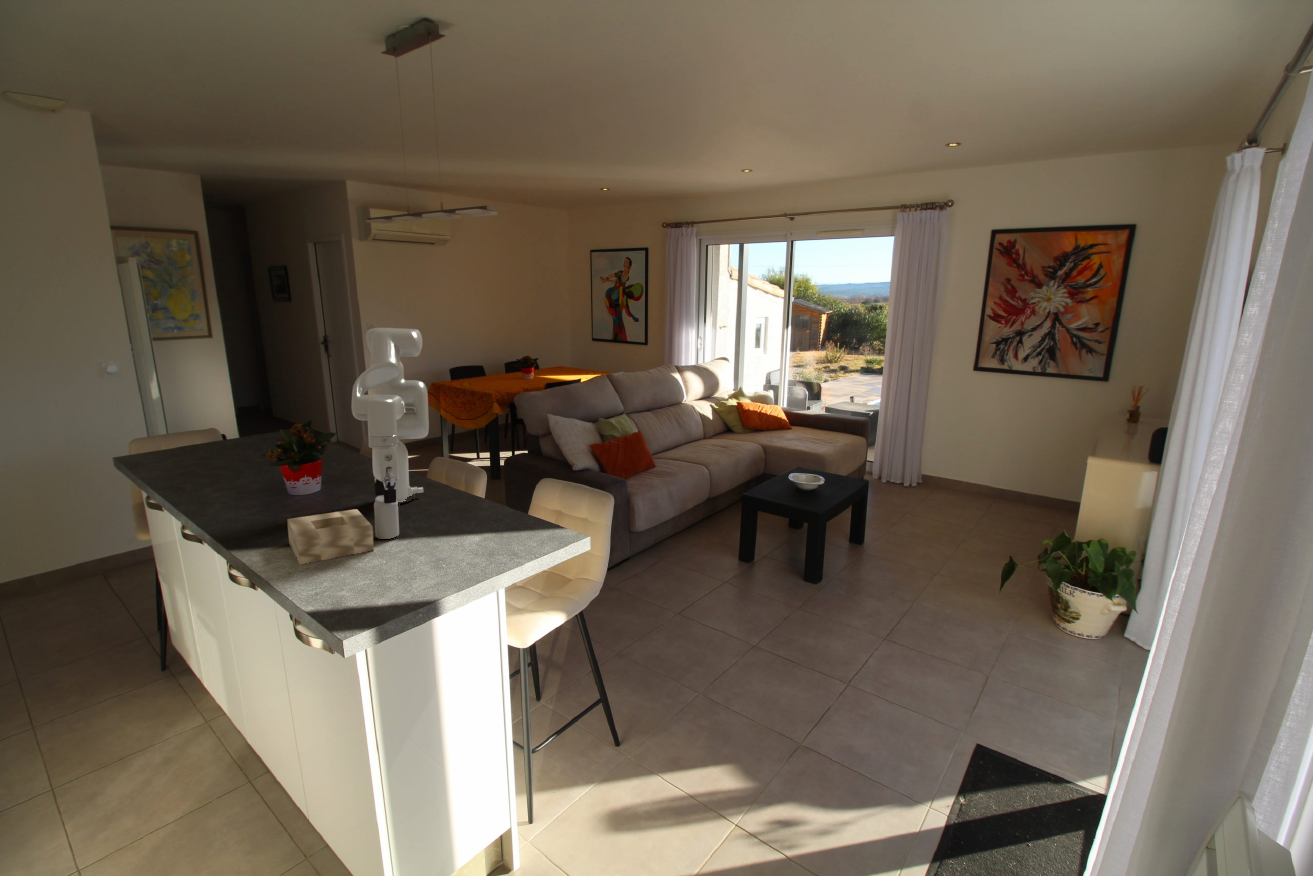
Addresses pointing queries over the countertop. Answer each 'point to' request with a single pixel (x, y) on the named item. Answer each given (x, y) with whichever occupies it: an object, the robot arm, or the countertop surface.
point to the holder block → (329, 535)
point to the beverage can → (386, 519)
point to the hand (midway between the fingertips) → (385, 499)
